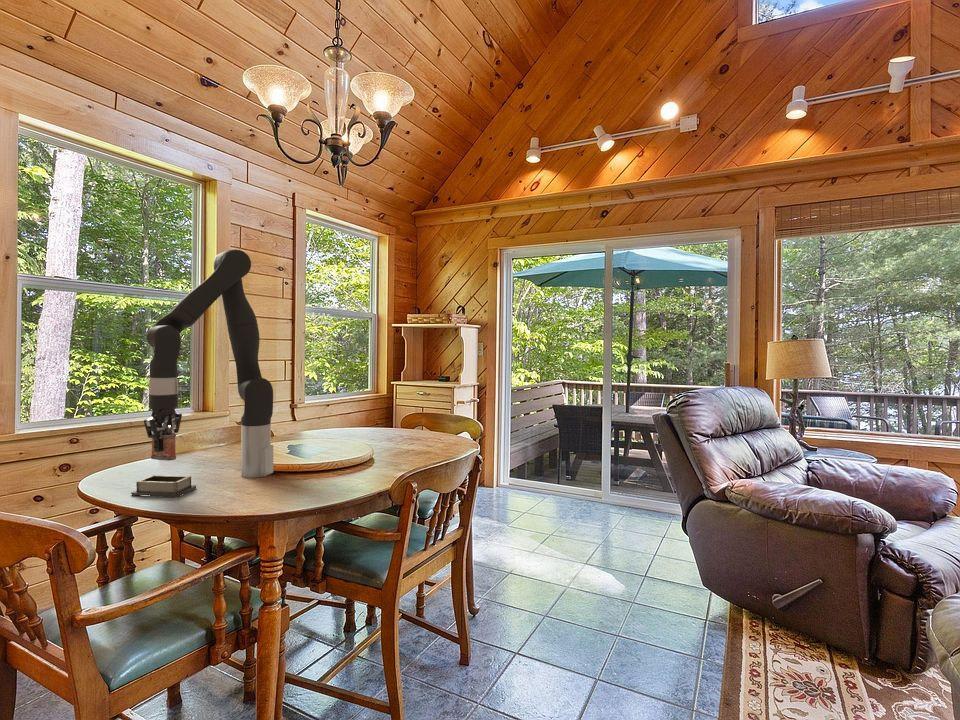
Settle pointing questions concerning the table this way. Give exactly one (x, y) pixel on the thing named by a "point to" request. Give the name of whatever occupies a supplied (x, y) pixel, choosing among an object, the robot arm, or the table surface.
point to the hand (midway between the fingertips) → (163, 449)
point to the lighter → (165, 446)
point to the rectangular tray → (164, 486)
